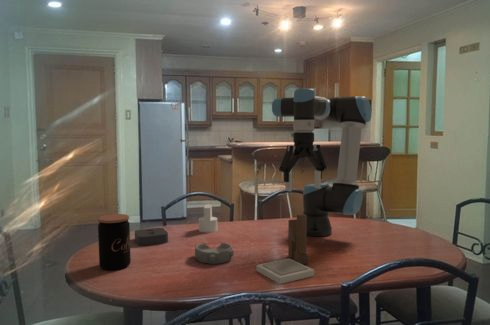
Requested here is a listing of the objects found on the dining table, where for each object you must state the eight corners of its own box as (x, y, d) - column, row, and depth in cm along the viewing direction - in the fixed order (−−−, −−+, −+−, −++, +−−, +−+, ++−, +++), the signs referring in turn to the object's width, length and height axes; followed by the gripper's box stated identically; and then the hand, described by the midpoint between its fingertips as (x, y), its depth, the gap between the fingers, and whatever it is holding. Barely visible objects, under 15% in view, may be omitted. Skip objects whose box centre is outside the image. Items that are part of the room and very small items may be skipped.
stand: (256, 270, 141) (256, 263, 141) (289, 263, 148) (289, 257, 148) (279, 284, 129) (280, 276, 129) (314, 275, 136) (314, 268, 136)
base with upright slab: (216, 233, 191) (216, 208, 190) (197, 233, 191) (197, 208, 190) (218, 228, 200) (218, 204, 199) (199, 228, 200) (199, 204, 199)
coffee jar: (113, 273, 139) (111, 221, 137) (93, 268, 144) (91, 218, 143) (137, 264, 148) (135, 215, 146) (117, 259, 153) (115, 212, 152)
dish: (191, 256, 158) (190, 243, 157) (224, 251, 163) (224, 239, 163) (202, 268, 144) (201, 254, 144) (238, 262, 150) (238, 249, 149)
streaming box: (134, 240, 180) (133, 230, 180) (162, 237, 186) (162, 227, 185) (139, 248, 169) (138, 237, 168) (169, 244, 174) (169, 233, 174)
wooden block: (296, 255, 158) (297, 209, 156) (308, 264, 147) (308, 215, 146) (287, 256, 157) (288, 210, 155) (298, 265, 146) (299, 216, 145)
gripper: (281, 132, 139) (281, 193, 140) (336, 131, 151) (335, 188, 153) (269, 132, 145) (269, 190, 147) (323, 131, 158) (322, 185, 160)
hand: (303, 189), depth 150 cm, fingers open, 13 cm apart
